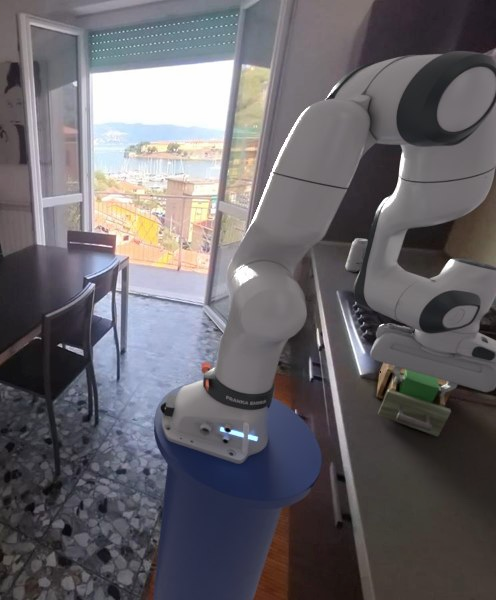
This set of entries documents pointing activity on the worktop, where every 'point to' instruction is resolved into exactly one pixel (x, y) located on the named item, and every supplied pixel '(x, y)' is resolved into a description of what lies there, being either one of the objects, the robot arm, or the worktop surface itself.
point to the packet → (419, 386)
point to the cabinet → (388, 369)
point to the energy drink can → (356, 254)
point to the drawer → (413, 409)
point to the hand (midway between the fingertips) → (417, 388)
